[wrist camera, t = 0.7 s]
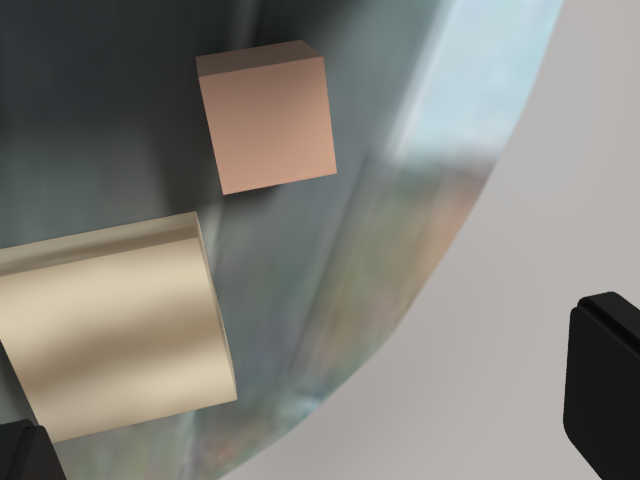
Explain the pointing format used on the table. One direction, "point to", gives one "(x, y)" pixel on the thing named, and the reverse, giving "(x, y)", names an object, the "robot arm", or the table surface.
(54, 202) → the table surface
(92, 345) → the base
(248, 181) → the cube
